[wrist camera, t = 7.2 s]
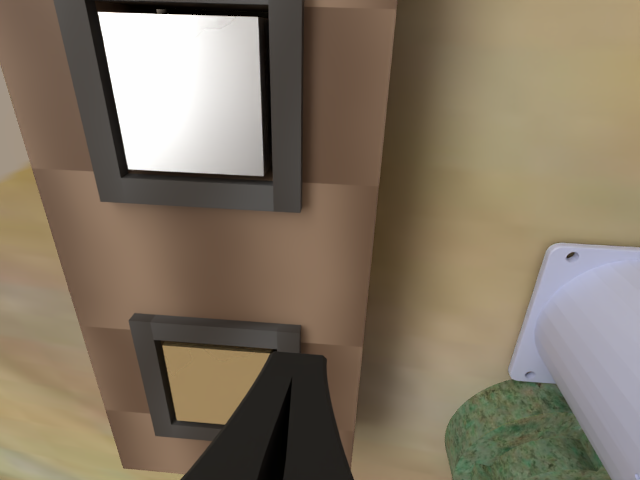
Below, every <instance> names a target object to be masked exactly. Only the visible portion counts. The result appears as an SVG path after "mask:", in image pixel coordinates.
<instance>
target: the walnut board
mask: <svg viewBox="0 0 640 480" xmlns="http://www.w3.org/2000/svg"><path fill="white" fill-rule="evenodd" d="M397 1H398V0H0V65H1V68H2V71H3V74H4V78H5V81H6V85H7V88H8V91H9V95H10V98H11V101H12V104H13V108H14V111H15V114H16V117H17V121H18V124H19V127H20V131H21V134H22V137H23V140H24V144H25V147H26V150H27V154H28V157H29V160H30V164H31V167H32V170H33V173H34V177H35V180H36V183H37V186H38V190H39V193H40V196H41V200H42V203H43V206H44V209H45V213H46V216H47V219H48V223H49V226H50V229H51V232H52V236H53V239H54V242H55V246H56V249H57V252H58V255H59V259H60V262H61V265H62V269H63V272H64V275H65V278H66V282H67V285H68V288H69V292H70V295H71V298H72V301H73V305H74V308H75V311H76V315H77V318H78V321H79V324H80V328H81V331H82V334H83V338H84V341H85V344H86V347H87V351H88V354H89V357H90V361H91V364H92V367H93V370H94V374H95V377H96V380H97V384H98V387H99V390H100V393H101V397H102V400H103V403H104V407H105V410H106V413H107V416H108V420H109V423H110V426H111V429H112V433H113V436H114V439H115V443H116V446H117V449H118V452H119V456H120V459H121V462H122V466H123V468H125V469H136V470H147V471H157V472H168V473H178V474H186V473H187V472H188V470H189V469H190V468H191V467H192V466H193V464H194V463H195V462H196V461H197V460H198V459H199V457H200V456H201V455H202V454H203V452H204V451H205V450H206V448H207V447H208V446H209V445H210V443H211V442H212V441H213V439H214V438H215V437H216V436H217V434H218V433H219V432H220V431H221V429H222V428H223V427H224V425H225V424H213V423H201V422H190V421H178V420H177V419H176V413H175V408H174V403H173V398H172V393H171V387H170V382H169V377H168V372H167V367H166V362H165V356H164V351H163V346H162V345H163V344H164V342H165V341H176V342H189V343H202V344H215V345H228V346H242V347H255V348H268V349H277V352H289V353H302V354H316V355H323V356H324V357H325V358H326V359H327V379H328V386H329V392H330V398H331V403H332V407H333V412H334V416H335V420H336V423H337V427H338V431H339V435H340V438H341V442H342V445H343V448H344V452H345V455H346V458H347V461H348V464H349V467H350V470H351V462H352V452H353V442H354V432H355V422H356V412H357V402H358V392H359V382H360V372H361V362H362V352H363V342H364V331H365V321H366V311H367V301H368V291H369V281H370V271H371V261H372V251H373V241H374V231H375V221H376V211H377V201H378V191H379V181H380V171H381V161H382V151H383V141H384V131H385V121H386V111H387V101H388V91H389V81H390V71H391V61H392V51H393V41H394V31H395V21H396V11H397ZM156 9H172V10H206V11H241V12H269V49H270V88H271V127H272V164H271V166H270V167H269V169H268V171H267V172H266V174H265V175H264V176H248V175H228V174H209V173H190V172H171V171H151V170H132V169H128V165H127V160H126V154H125V149H124V144H123V139H122V134H121V128H120V123H119V118H118V113H117V108H116V103H115V97H114V92H113V87H112V82H111V77H110V71H109V66H108V61H107V56H106V51H105V46H104V40H103V35H102V30H101V25H100V20H99V14H98V12H106V13H140V14H157V11H156Z"/></svg>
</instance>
